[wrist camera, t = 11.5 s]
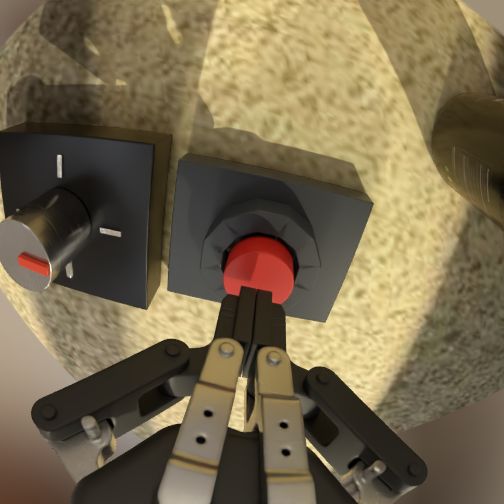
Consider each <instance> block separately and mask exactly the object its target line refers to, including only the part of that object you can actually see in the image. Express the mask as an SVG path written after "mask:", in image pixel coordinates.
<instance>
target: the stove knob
mask: <svg viewBox="0 0 504 504" xmlns="http://www.w3.org/2000/svg"><path fill="white" fill-rule="evenodd" d="M90 233H91V225H90V219H89V216H88V213H87V211H86V209H85V207H84V206H83V204H82V203H81V201H80V200H79V199H78V198H77V197H76V196H75V195H74V194H72V193H71V192H69V191H67V190H64V189H60V188H54V189H50V190H48V191H46V192H45V193H43V194H42V195H40V196H39V197H37V198H35V199H34V200H32V201H31V202H29V203H28V204H26V205H25V206H24V207H22V208H21V209H19V210H18V211H16V212H15V213H13V214H12V215H11V216H9V217H8V218H6V219H5V220H4V221H2V222H1V223H0V262H1V264H2V265H3V267H4V269H5V270H6V272H7V273H8V274H9V276H10V277H11V278H12V279H13V280H14V281H15V282H16V283H18V284H19V285H20V286H22V287H24V288H26V289H28V290H31V291H42V290H44V289H46V288H47V287H48V286H49V285H50V284H51V283H52V281H53V280H54V279H55V278H56V277H57V276H58V275H59V274H60V273H61V271H62V270H63V269H64V268H65V267H66V266H67V265H68V264H69V263H70V262H71V261H72V260H73V258H74V257H75V256H76V255H77V254H78V253H79V252H80V251H81V250H82V249H83V248H84V247H85V246H86V244H87V243H88V241H89V238H90Z"/></svg>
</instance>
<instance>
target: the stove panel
mask: <svg viewBox="0 0 504 504" xmlns="http://www.w3.org/2000/svg"><path fill="white" fill-rule="evenodd" d="M171 142H172V135H171V134H164V133H157V132H149V131H141V130H132V129H123V128H112V127H101V126H89V125H74V124H55V123H22V124H19V125H16V126H13V127H10V128H7V129H4V130H2V131H0V180H1V190H2V198H3V206H4V213H5V219H6V218H8V217H9V216H11V215H12V214H13V213H15V212H16V211H18V210H19V209H21V208H22V207H24V206H25V205H26V204H28V203H29V202H31V201H32V200H34V199H35V198H37V197H39V196H40V195H42V194H43V193H45V192H46V191H48V190H50V189H54V188H60V189H64V190H67V191H69V192H71V193H72V194H74V195H75V196H76V197H77V198H78V199H79V200H80V201H81V203H82V204H83V206H84V207H85V209H86V211H87V213H88V216H89V219H90V225H91V233H90V238H89V241H88V243H87V244H86V246H85V247H84V248H83V249H82V250H81V251H80V252H79V253H78V254H77V255H76V256H75V257H74V258H73V260H72V261H71V262H70V263H69V264H68V265H67V266H66V267H65V268H64V269H63V270H62V271H61V273H60V274H59V275H58V276H57V277H56V278H55V279H54V280H53V281H52V283H56V284H59V285H62V286H65V287H68V288H71V289H74V290H78V291H81V292H84V293H88V294H91V295H94V296H98V297H101V298H105V299H108V300H112V301H115V302H119V303H122V304H126V305H130V306H133V307H137V308H141V309H145V310H147V309H148V307H149V305H150V303H151V301H152V299H153V297H154V295H155V293H156V291H157V289H158V287H159V286H160V271H161V251H162V235H163V221H164V208H165V197H166V186H167V176H168V167H169V158H170V150H171Z"/></svg>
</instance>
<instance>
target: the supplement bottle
mask: <svg viewBox="0 0 504 504" xmlns="http://www.w3.org/2000/svg"><path fill="white" fill-rule="evenodd" d="M432 153H433V158H434V161H435V164H436V167H437V169H438V171H439V173H440V175H441V177H442V178H443V179H444V181H445V182H446V183H447V184H448V185H449V186H450V187H451V188H452V189H454V190H455V191H456V192H457V193H458V194H460V195H461V196H462V197H463V198H465V199H466V200H467V201H468V202H470V203H471V204H472V205H473V206H474V207H476V208H477V209H478V210H479V211H480V212H482V213H483V214H484V215H485V216H486V217H487V218H488V219H490V220H491V221H492V222H493V223H494V224H495V225H496V226H497V227H499V228H500V229H501V230H502V231H503V232H504V97H499V96H494V95H488V94H482V93H463V94H460V95H458V96H456V97H454V98H452V99H451V100H450V101H448V102H447V103H446V104H445V105H444V107H443V108H442V109H441V111H440V112H439V114H438V116H437V118H436V121H435V124H434V127H433V132H432Z"/></svg>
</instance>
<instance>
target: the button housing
mask: <svg viewBox="0 0 504 504" xmlns="http://www.w3.org/2000/svg"><path fill="white" fill-rule="evenodd" d="M373 204H374V203H373V202H372V201H371V199H370V198H369V197H368V195H367V194H366V193H362V192H359V191H355V190H352V189H348V188H344V187H341V186H337V185H333V184H329V183H325V182H321V181H318V180H314V179H310V178H305V177H301V176H297V175H293V174H289V173H284V172H280V171H275V170H271V169H266V168H262V167H257V166H252V165H248V164H243V163H238V162H233V161H227V160H222V159H217V158H211V157H206V156H200V155H194V154H188V153H187V154H186V155H184V156H183V157H182V158H181V159H179V162H178V170H177V179H176V188H175V197H174V207H173V217H172V229H171V241H170V254H169V270H168V288H167V291H170V292H175V293H179V294H183V295H188V296H192V297H196V298H201V299H205V300H210V301H215V302H219V303H222V299H223V298H224V297H225V296H226V295H227V292H226V290H225V288H224V284H223V274H224V270H225V267H226V263H227V259H228V256H229V253H230V251H231V249H232V248H233V247H234V246H235V245H236V244H237V243H238V242H240V241H241V240H243V239H245V238H248V237H252V236H266V237H270V238H273V239H276V240H277V241H279V242H281V243H282V244H283V245H284V246H285V247H286V248H287V249H288V250H289V252H290V254H291V256H292V260H293V272H294V287H293V290H292V292H291V294H290V296H289V297H288V298H287V299H286V300H285V301H284V302H283V303H282V304H281V305H282V307H283V309H284V311H285V316H290V317H295V318H301V319H307V320H312V321H318V322H324V323H325V322H326V320H327V318H328V315H329V313H330V311H331V309H332V307H333V304H334V302H335V300H336V297H337V295H338V293H339V291H340V288H341V286H342V284H343V281H344V279H345V276H346V274H347V272H348V269H349V267H350V264H351V262H352V259H353V257H354V255H355V252H356V249H357V247H358V244H359V242H360V239H361V237H362V234H363V231H364V229H365V226H366V223H367V221H368V218H369V215H370V213H371V210H372V207H373Z"/></svg>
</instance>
